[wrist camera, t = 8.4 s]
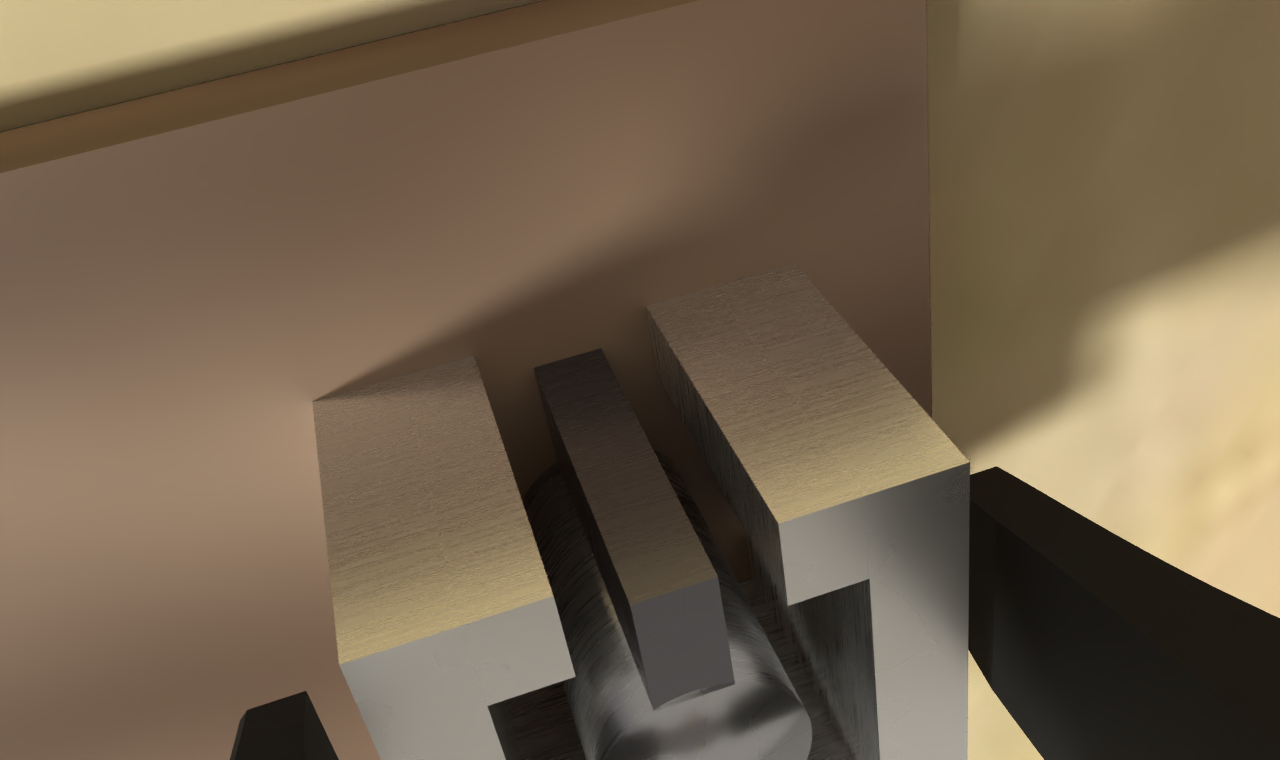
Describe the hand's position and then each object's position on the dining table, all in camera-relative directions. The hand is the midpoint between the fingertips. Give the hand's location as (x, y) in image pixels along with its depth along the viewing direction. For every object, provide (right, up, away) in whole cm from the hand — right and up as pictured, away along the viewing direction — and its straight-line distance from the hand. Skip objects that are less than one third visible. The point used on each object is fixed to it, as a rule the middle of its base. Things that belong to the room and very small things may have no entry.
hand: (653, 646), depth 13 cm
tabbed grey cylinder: (-1, +1, +2) cm, 2 cm away
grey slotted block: (-1, +1, +2) cm, 2 cm away
